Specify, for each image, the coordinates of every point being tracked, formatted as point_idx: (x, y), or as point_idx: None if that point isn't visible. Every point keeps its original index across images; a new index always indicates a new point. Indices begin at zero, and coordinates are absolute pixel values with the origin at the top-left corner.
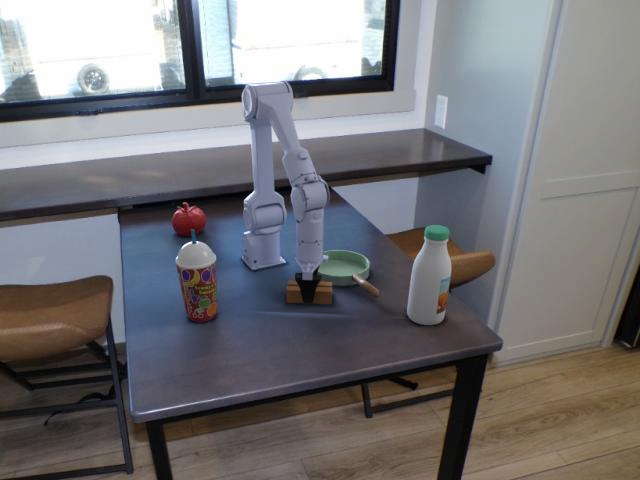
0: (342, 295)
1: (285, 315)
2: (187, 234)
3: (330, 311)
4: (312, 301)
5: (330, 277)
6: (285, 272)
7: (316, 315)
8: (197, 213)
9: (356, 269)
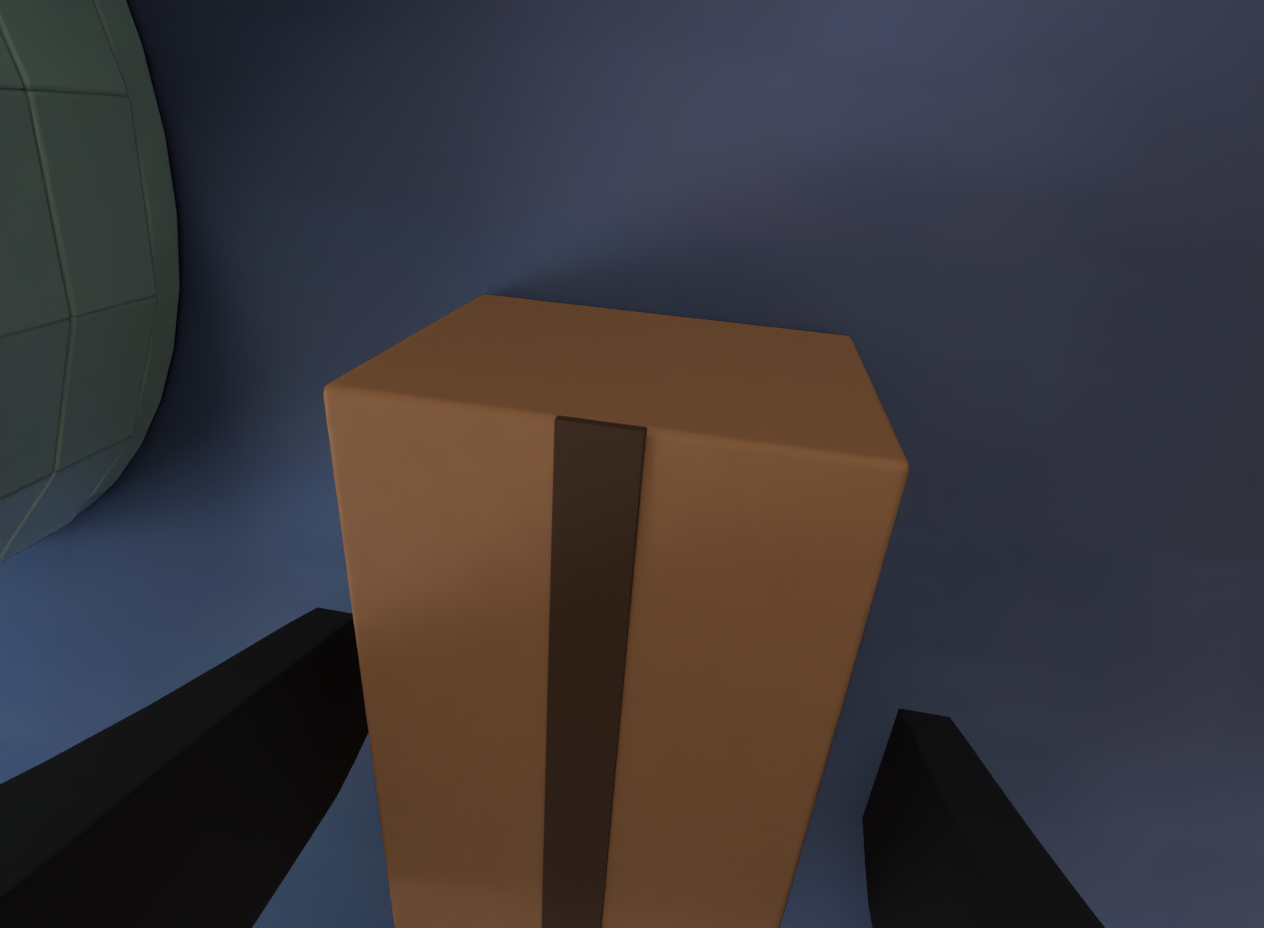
0: (450, 70)
1: None
2: None
3: (1056, 368)
4: (968, 748)
5: (11, 344)
6: None
7: (1129, 599)
8: None
9: None
